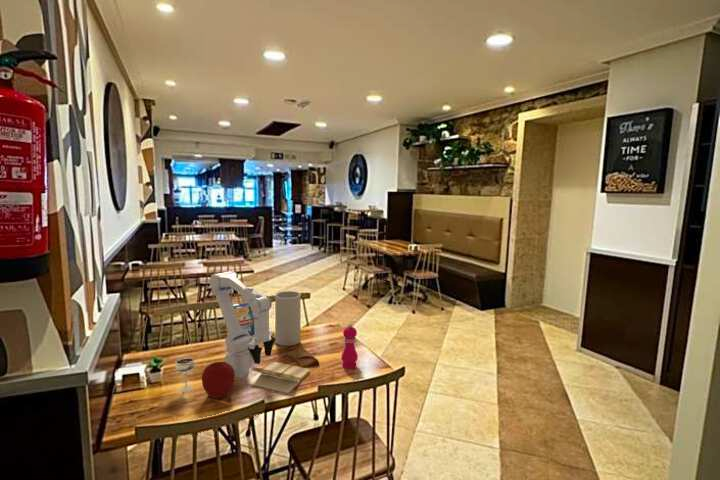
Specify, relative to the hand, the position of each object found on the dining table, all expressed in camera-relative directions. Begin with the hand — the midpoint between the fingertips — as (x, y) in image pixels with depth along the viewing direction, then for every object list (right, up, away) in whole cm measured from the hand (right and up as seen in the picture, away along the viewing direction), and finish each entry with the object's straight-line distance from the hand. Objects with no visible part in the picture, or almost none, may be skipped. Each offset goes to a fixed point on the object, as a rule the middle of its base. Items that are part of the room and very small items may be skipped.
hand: (262, 359), depth 153 cm
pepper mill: (+34, -9, +18) cm, 40 cm away
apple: (-14, -12, -8) cm, 20 cm away
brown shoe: (+12, -8, +23) cm, 27 cm away
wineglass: (-29, -11, -4) cm, 31 cm away
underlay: (+6, -10, +6) cm, 13 cm away
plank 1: (0, -7, +4) cm, 8 cm away
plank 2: (+9, -8, +1) cm, 12 cm away
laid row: (+8, -9, +11) cm, 16 cm away
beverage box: (-18, -6, +33) cm, 38 cm away
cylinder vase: (+2, -5, +43) cm, 43 cm away
